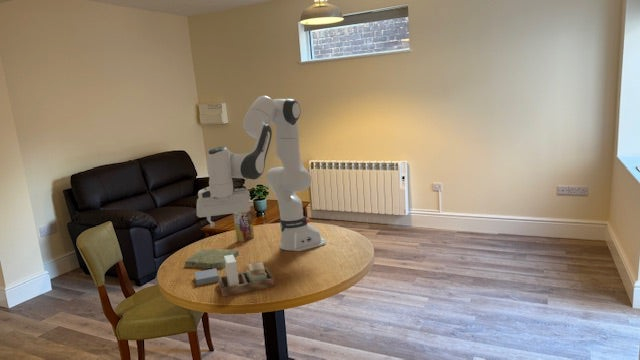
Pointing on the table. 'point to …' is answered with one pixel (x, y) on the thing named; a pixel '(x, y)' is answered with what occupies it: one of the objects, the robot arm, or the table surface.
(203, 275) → the slate plinth
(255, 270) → the offcut top
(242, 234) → the candy box
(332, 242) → the table surface
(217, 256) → the decorative tile
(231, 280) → the tall white box
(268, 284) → the walnut rack
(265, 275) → the block
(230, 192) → the robot arm
